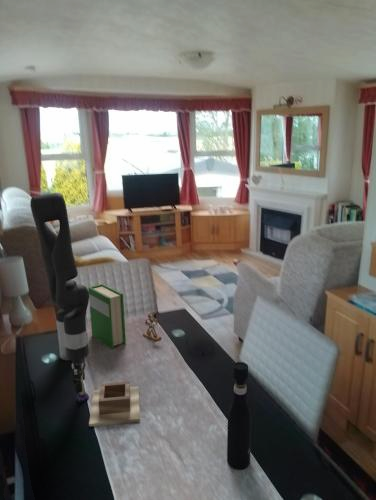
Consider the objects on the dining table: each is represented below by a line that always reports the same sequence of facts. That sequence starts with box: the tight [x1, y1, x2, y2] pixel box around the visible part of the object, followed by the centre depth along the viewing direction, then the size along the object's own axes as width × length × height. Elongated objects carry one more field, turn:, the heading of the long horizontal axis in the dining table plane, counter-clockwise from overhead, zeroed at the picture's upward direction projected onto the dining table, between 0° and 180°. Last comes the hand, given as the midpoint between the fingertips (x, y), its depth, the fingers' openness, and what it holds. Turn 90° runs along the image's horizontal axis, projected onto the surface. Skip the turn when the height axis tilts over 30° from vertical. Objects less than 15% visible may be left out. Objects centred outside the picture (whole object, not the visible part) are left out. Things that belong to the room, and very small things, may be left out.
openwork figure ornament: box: [142, 312, 162, 342], centre depth 182 cm, size 9×4×12 cm, turn 47°
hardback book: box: [87, 283, 127, 350], centre depth 179 cm, size 18×7×24 cm, turn 41°
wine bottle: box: [226, 361, 252, 471], centre depth 107 cm, size 6×6×30 cm
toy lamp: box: [76, 359, 90, 403], centre depth 137 cm, size 5×5×17 cm
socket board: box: [88, 380, 141, 427], centre depth 134 cm, size 18×16×6 cm
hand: (80, 385), depth 138 cm, fingers open, 7 cm apart
